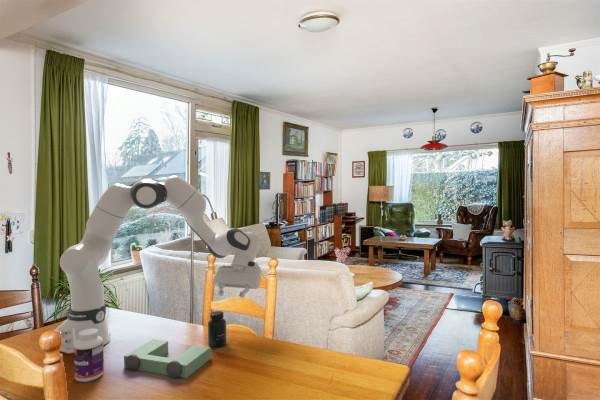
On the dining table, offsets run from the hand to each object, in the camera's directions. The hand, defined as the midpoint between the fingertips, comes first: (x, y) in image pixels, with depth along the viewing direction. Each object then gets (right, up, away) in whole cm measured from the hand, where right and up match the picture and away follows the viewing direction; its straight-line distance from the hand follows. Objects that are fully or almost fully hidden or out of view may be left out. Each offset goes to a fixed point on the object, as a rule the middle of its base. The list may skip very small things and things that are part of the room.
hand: (230, 295), depth 152 cm
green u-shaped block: (-17, -16, -24) cm, 34 cm away
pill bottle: (-38, -17, -33) cm, 53 cm away
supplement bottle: (-3, -16, -10) cm, 19 cm away
